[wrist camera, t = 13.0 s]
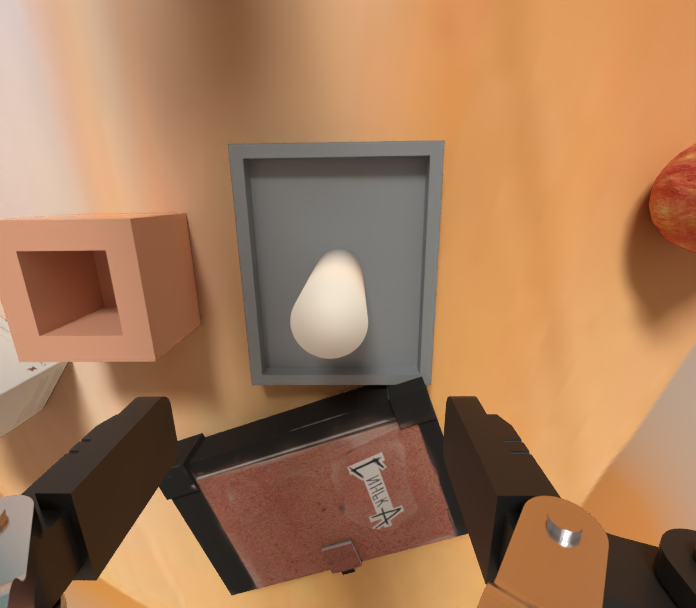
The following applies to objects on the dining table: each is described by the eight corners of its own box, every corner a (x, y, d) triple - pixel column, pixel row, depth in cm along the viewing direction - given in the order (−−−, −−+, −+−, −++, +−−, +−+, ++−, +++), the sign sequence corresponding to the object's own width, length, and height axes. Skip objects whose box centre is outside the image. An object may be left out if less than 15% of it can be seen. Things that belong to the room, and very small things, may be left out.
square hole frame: (70, 214, 31) (-23, 220, 23) (185, 213, 31) (129, 218, 23) (95, 324, 34) (19, 362, 26) (201, 323, 34) (155, 361, 26)
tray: (238, 148, 29) (228, 144, 27) (437, 144, 29) (444, 140, 27) (259, 372, 35) (252, 385, 33) (425, 371, 35) (430, 384, 32)
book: (246, 558, 43) (233, 604, 38) (176, 439, 38) (150, 474, 33) (464, 499, 40) (479, 541, 35) (416, 361, 35) (426, 387, 30)
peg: (314, 248, 31) (287, 285, 18) (362, 248, 30) (368, 284, 18) (316, 294, 32) (292, 358, 19) (362, 294, 32) (368, 358, 19)
